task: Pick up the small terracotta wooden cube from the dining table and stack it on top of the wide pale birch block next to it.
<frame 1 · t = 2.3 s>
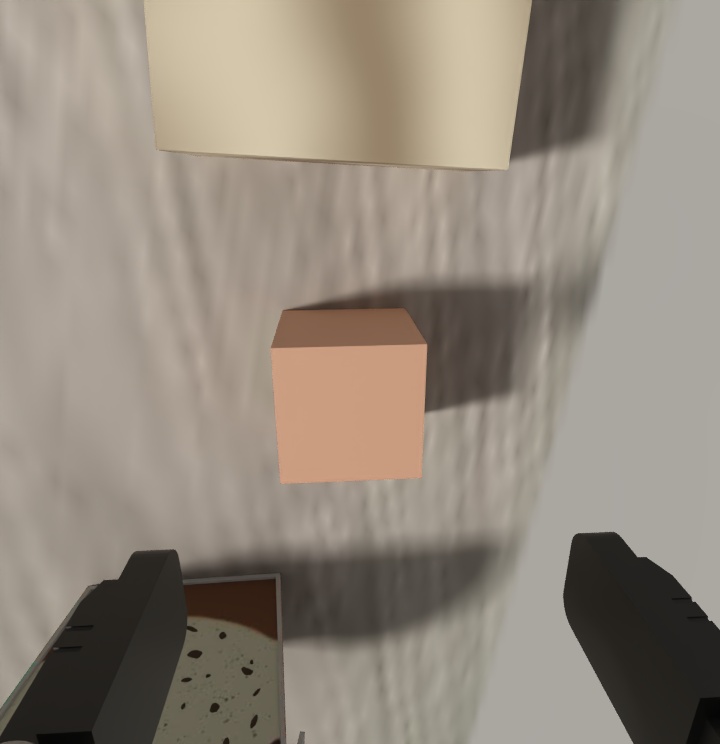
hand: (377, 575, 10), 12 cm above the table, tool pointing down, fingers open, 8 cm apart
terracotta cube: (345, 365, 22), on the table
food container: (195, 623, 27), on the table
birch block: (338, 5, 17), on the table
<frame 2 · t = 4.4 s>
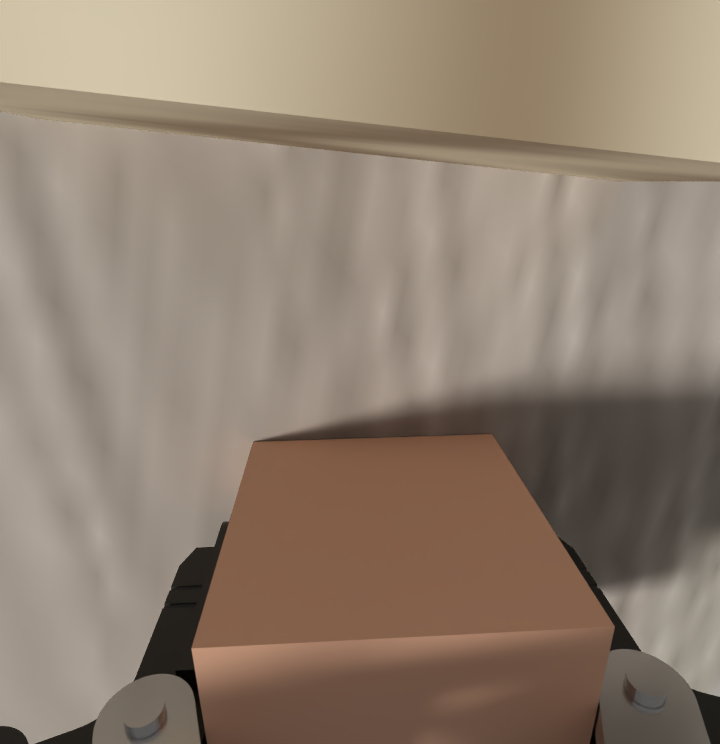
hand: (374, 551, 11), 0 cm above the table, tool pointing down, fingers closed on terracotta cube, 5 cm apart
terracotta cube: (373, 536, 12), on the table, touching gripper
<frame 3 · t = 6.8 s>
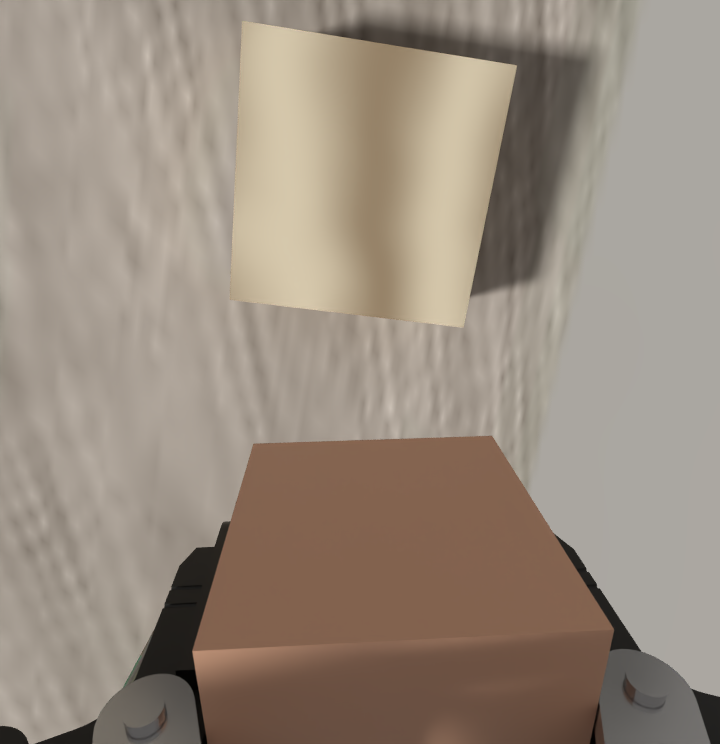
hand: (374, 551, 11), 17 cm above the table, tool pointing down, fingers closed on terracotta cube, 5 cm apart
terracotta cube: (373, 538, 12), point 16 cm above the table, touching gripper
birch block: (359, 189, 25), on the table
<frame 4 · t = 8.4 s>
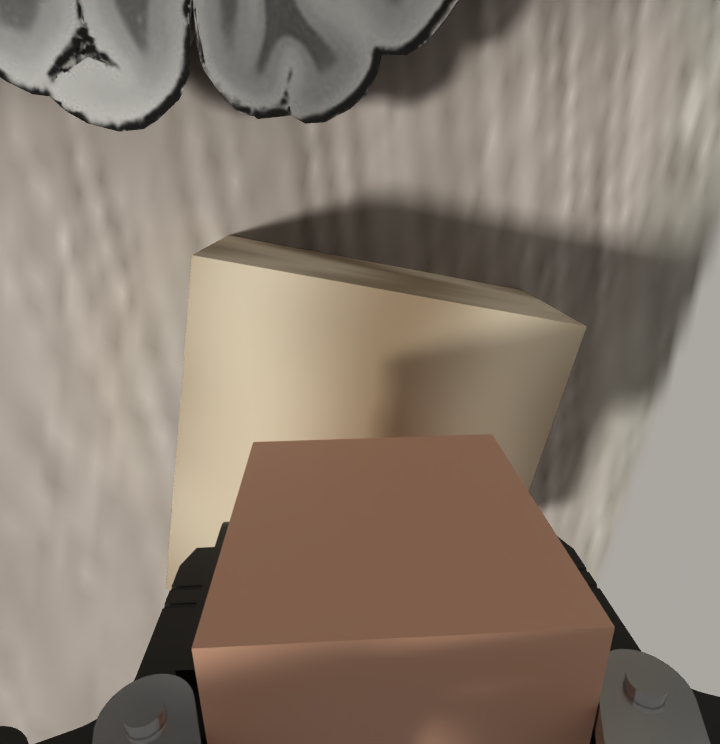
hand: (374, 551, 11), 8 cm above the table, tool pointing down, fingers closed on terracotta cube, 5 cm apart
terracotta cube: (373, 536, 12), point 8 cm above the table, touching gripper
birch block: (352, 396, 19), on the table
when the fingers open (7 cm above the table, at t = 9.4 s): terracotta cube drops 2 cm, point 5 cm above the table.
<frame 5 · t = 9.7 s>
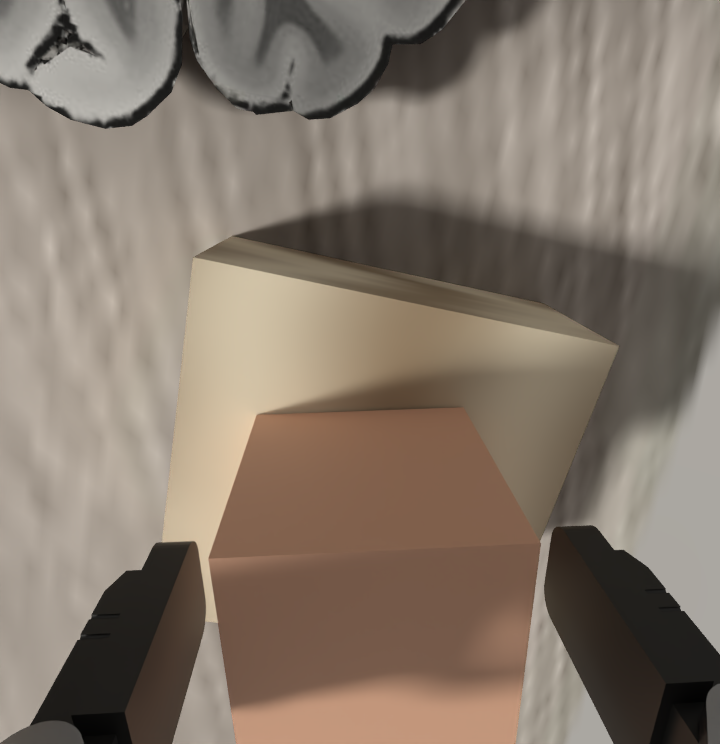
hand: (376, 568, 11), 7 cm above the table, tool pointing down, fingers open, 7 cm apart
terracotta cube: (362, 499, 13), point 5 cm above the table
birch block: (358, 410, 18), on the table
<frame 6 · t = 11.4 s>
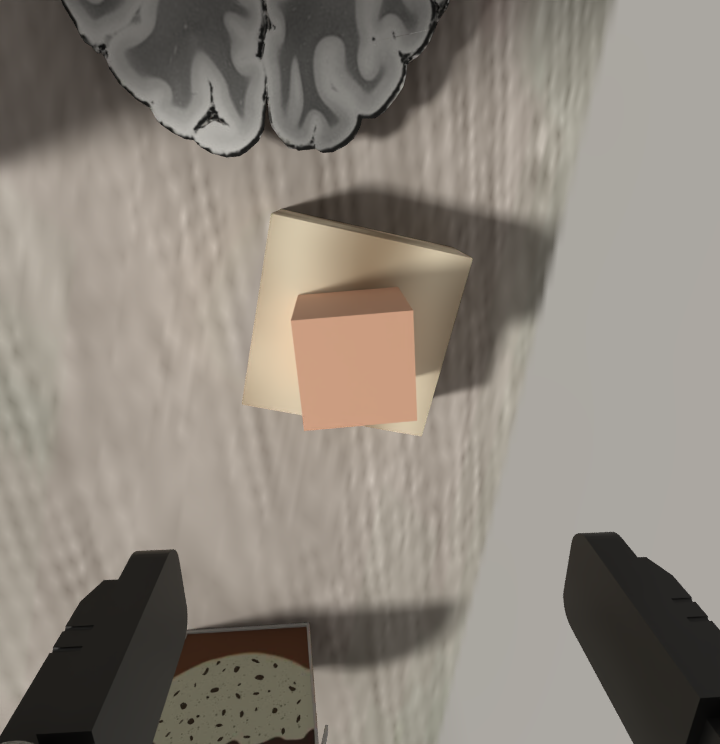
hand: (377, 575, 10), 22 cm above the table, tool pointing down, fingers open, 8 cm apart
terracotta cube: (352, 338, 26), point 5 cm above the table
food container: (252, 654, 40), on the table
birch block: (350, 311, 31), on the table
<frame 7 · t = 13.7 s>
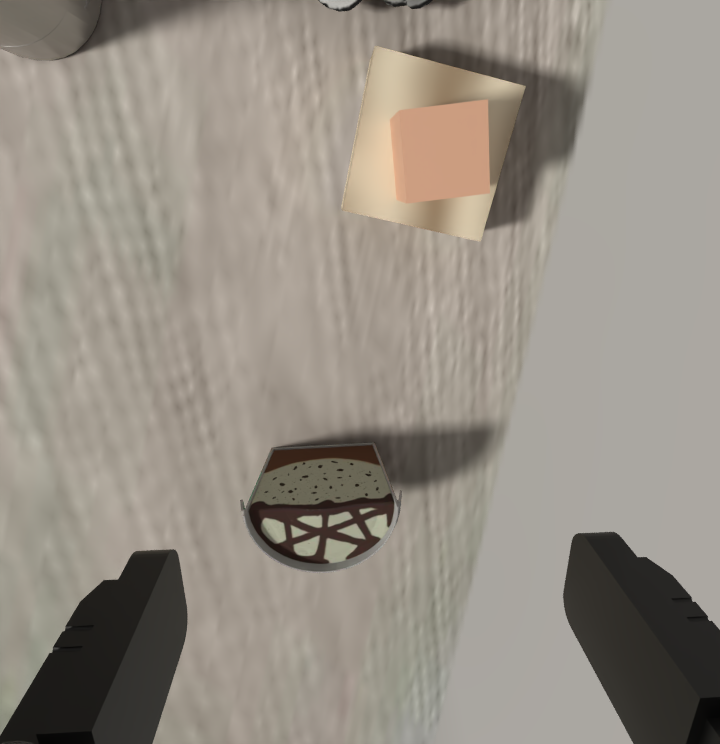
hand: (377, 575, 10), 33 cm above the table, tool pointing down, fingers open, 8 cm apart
terracotta cube: (430, 156, 34), point 5 cm above the table, touching birch block
food container: (325, 473, 48), on the table
birch block: (419, 153, 39), on the table, touching terracotta cube
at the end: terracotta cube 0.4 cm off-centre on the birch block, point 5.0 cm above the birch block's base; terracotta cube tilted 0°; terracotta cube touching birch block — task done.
